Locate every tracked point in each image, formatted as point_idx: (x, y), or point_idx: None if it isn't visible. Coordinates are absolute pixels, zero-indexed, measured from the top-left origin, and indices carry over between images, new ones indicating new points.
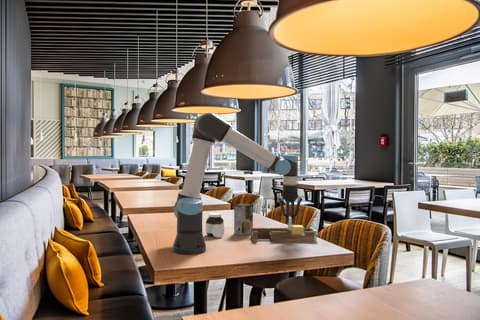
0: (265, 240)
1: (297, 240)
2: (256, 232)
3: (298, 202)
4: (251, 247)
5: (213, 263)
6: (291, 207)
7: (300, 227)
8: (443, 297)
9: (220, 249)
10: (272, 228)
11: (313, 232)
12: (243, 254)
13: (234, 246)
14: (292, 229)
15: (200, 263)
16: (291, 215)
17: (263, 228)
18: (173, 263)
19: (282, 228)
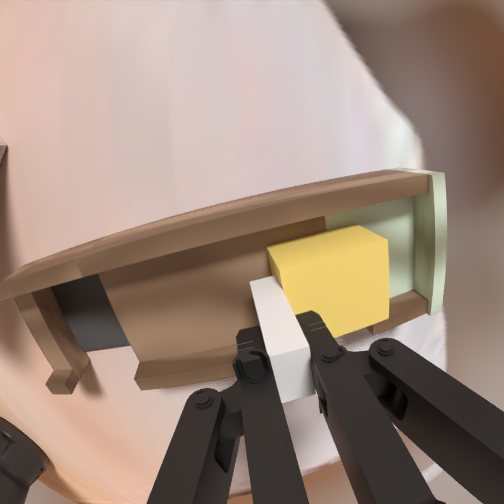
0: (118, 345)
1: None
2: (68, 391)
3: (486, 501)
4: (116, 434)
5: (117, 501)
6: (358, 491)
7: (363, 324)
8: None
9: (56, 443)
10: (106, 270)
11: (420, 313)
12: (135, 477)
13: (62, 422)
14: None
15: (98, 498)
16: (321, 392)
17: (49, 286)
18: (64, 490)
19: (192, 247)
